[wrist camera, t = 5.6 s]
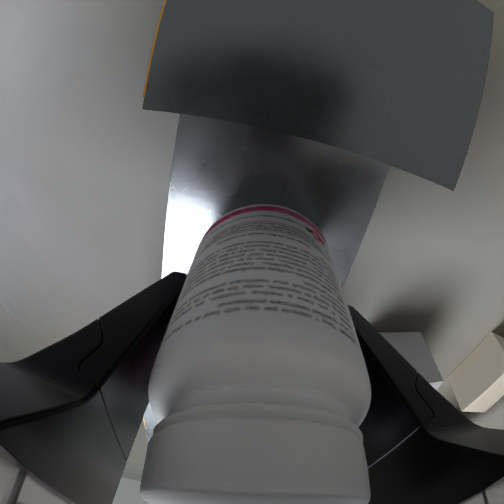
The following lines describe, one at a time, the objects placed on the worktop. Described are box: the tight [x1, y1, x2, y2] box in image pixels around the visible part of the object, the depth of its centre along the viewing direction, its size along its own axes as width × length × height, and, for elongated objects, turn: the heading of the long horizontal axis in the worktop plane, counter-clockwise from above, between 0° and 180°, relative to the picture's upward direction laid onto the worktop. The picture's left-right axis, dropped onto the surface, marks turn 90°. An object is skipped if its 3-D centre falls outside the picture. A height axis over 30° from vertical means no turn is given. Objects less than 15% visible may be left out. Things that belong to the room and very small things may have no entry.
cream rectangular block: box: [447, 332, 504, 412], centre depth 16 cm, size 5×4×4 cm
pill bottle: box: [140, 204, 371, 504], centre depth 7 cm, size 5×5×8 cm
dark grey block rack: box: [143, 0, 493, 443], centre depth 10 cm, size 22×8×6 cm, turn 168°
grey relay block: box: [379, 332, 443, 390], centre depth 15 cm, size 6×4×4 cm, turn 176°
